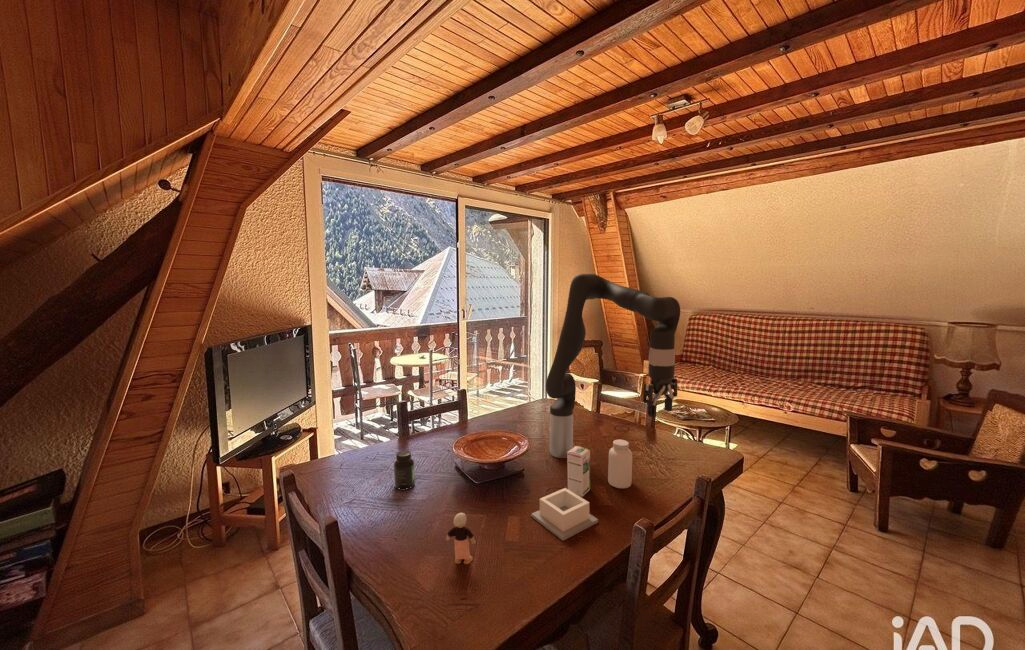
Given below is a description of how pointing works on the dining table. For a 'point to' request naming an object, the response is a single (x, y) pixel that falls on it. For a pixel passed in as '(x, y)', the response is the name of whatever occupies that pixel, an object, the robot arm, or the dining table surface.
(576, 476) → the syrup box
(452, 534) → the grandmother figurine
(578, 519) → the socket
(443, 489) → the dining table surface
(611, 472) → the pill bottle
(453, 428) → the dining table surface
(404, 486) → the supplement bottle
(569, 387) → the robot arm
